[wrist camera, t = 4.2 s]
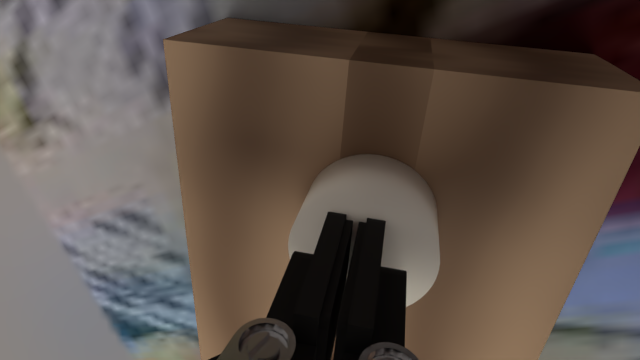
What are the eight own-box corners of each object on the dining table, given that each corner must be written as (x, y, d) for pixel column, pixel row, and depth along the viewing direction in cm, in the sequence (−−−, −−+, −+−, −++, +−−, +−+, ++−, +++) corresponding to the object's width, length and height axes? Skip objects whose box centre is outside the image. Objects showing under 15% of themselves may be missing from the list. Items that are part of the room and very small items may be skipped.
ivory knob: (443, 119, 16) (456, 206, 11) (423, 214, 18) (424, 326, 13) (332, 105, 17) (289, 180, 11) (325, 198, 19) (286, 298, 14)
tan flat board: (594, 54, 15) (663, 94, 11) (433, 483, 30) (435, 573, 25) (227, 17, 17) (163, 39, 13) (246, 435, 32) (219, 510, 28)
